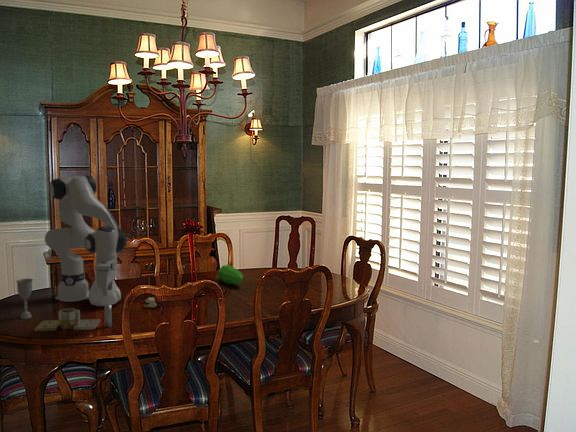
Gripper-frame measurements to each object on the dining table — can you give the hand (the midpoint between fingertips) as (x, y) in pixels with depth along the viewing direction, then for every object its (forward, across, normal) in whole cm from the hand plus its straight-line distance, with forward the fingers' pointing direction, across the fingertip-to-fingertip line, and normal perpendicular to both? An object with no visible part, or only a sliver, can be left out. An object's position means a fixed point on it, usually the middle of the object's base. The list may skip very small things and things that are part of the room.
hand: (107, 292), depth 225 cm
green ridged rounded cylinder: (+16, -74, +57) cm, 95 cm away
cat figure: (+16, -33, +23) cm, 43 cm away
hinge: (+16, -2, -18) cm, 24 cm away
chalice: (+16, -17, -42) cm, 48 cm away
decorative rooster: (+16, -38, -10) cm, 43 cm away
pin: (+16, 0, 0) cm, 16 cm away
